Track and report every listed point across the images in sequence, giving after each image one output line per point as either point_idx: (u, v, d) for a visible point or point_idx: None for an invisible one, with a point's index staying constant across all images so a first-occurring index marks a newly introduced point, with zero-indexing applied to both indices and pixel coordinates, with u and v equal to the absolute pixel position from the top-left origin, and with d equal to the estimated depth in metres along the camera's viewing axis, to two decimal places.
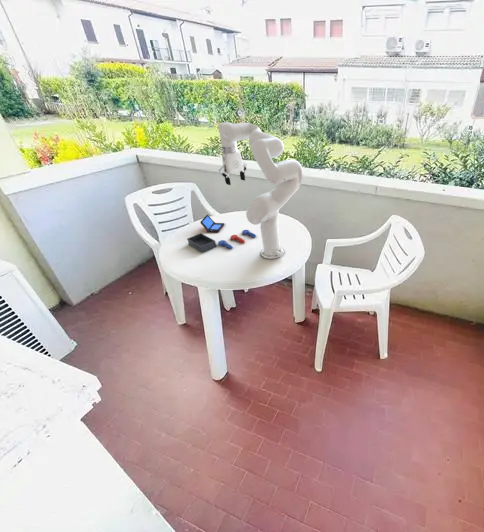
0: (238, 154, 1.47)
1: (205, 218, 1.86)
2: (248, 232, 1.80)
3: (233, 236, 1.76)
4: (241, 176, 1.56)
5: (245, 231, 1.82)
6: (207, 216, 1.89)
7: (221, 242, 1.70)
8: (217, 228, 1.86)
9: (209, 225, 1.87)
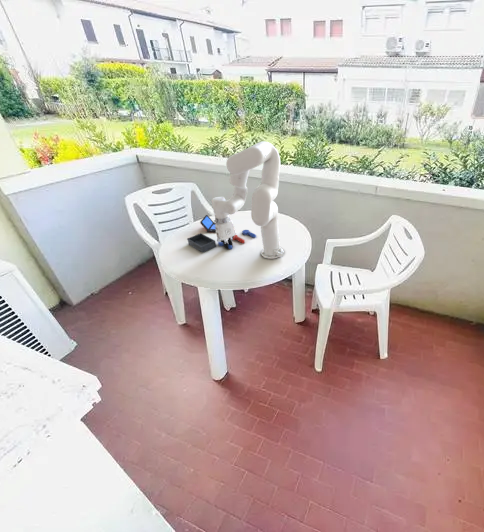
0: (230, 223, 1.60)
1: (204, 218, 1.86)
2: (248, 232, 1.80)
3: None
4: (229, 243, 1.68)
5: (245, 231, 1.82)
6: (206, 216, 1.89)
7: (221, 242, 1.70)
8: None
9: (209, 225, 1.87)
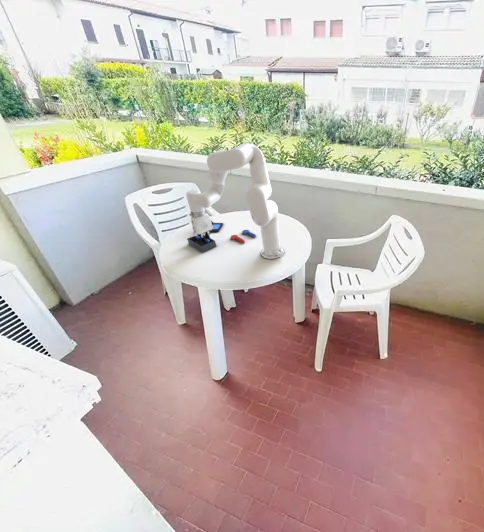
0: (206, 216, 1.60)
1: None
2: (248, 232, 1.80)
3: (233, 236, 1.76)
4: (206, 237, 1.68)
5: (245, 231, 1.82)
6: None
7: (198, 236, 1.70)
8: (216, 228, 1.86)
9: None
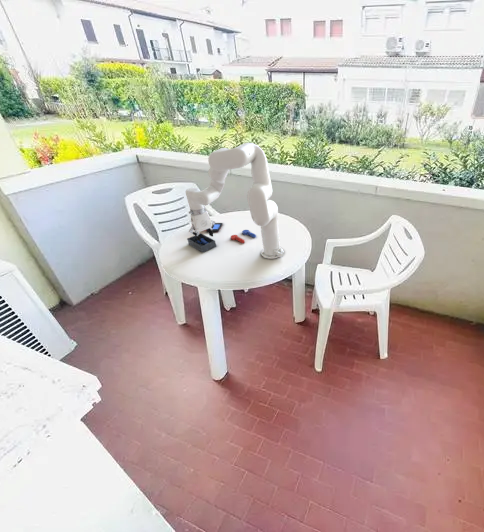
0: (206, 214, 1.59)
1: None
2: (248, 232, 1.80)
3: (233, 236, 1.76)
4: (209, 233, 1.68)
5: (245, 231, 1.82)
6: None
7: None
8: (216, 228, 1.86)
9: None
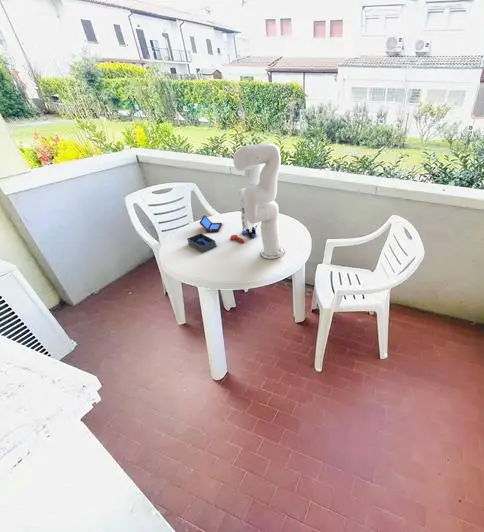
0: None
1: (203, 218, 1.86)
2: None
3: (233, 236, 1.76)
4: (252, 232, 1.80)
5: (245, 231, 1.82)
6: (204, 216, 1.89)
7: (200, 240, 1.71)
8: (216, 228, 1.86)
9: (208, 225, 1.87)
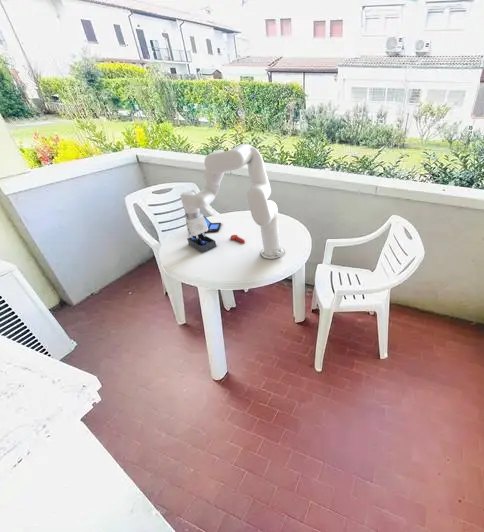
0: (201, 218, 1.57)
1: None
2: None
3: (233, 236, 1.76)
4: (202, 239, 1.66)
5: (194, 238, 1.68)
6: None
7: None
8: (216, 228, 1.86)
9: (207, 225, 1.87)
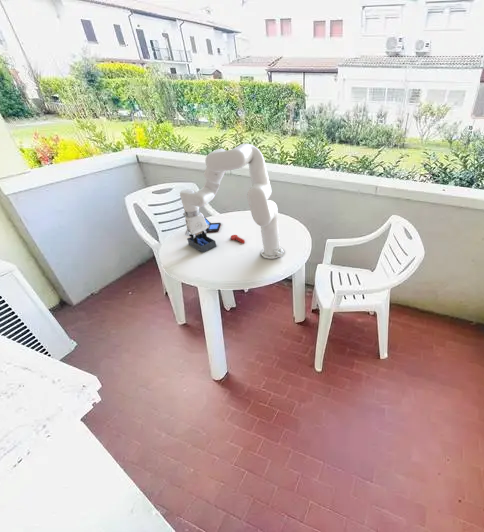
0: (201, 216, 1.57)
1: None
2: None
3: (233, 236, 1.76)
4: (203, 236, 1.66)
5: None
6: None
7: (200, 240, 1.72)
8: (216, 228, 1.86)
9: None
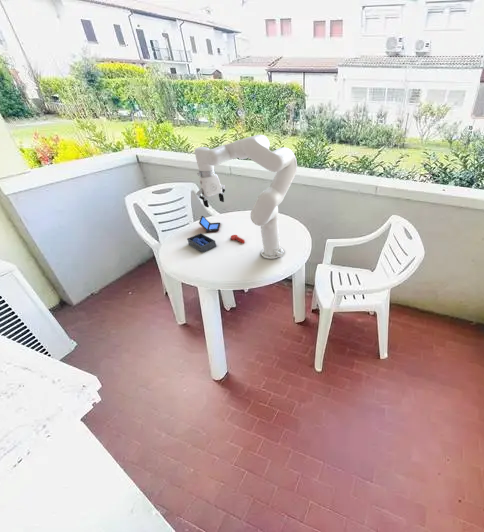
0: (215, 177, 1.48)
1: (201, 219, 1.85)
2: (197, 243, 1.67)
3: (233, 236, 1.76)
4: (220, 198, 1.58)
5: (195, 241, 1.69)
6: (202, 217, 1.88)
7: (200, 240, 1.72)
8: (216, 228, 1.86)
9: (206, 225, 1.86)
